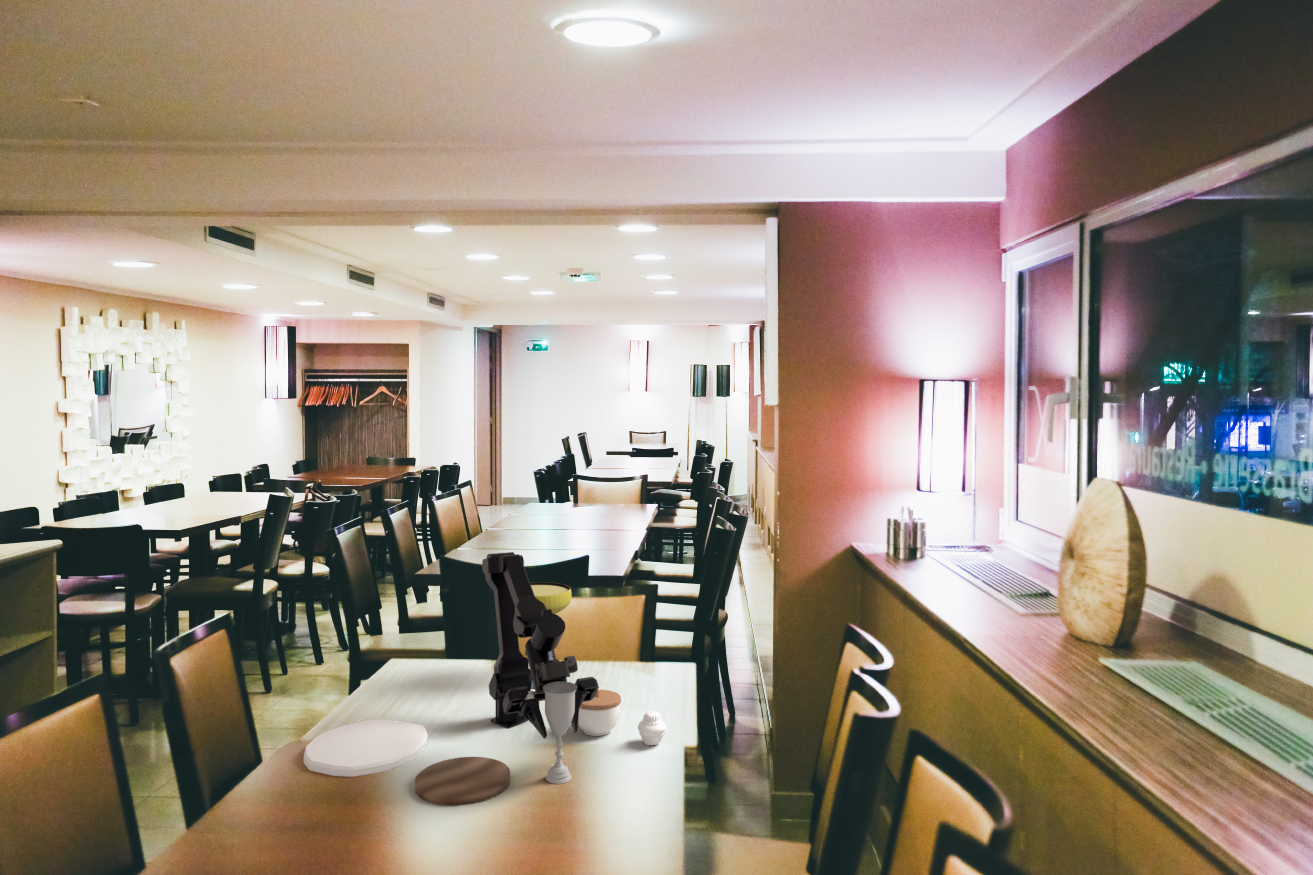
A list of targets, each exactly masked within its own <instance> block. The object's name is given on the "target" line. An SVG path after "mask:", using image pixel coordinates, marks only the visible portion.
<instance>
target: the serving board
mask: <svg viewBox="0 0 1313 875" xmlns="http://www.w3.org/2000/svg"><path fill="white" fill-rule="evenodd" d="M415 776H416V777H415V779H414V792H415V794H416V795H417V796H418V798H419V799H421V800H423V801H425V802H428V803H430V804H434V805H439V806H440V805H441V806H464V805H470V804H471V805H472V804H477V802H478V803H481V802H484V801H487V799H488V800H490V799H493V798H494V797H497V796H499V795H500V794H502V793H503V792H504V791H505V790H507V789H508V787H509V785H510V784H511V769H510V767H509V766H508V765H507V764H506V763H504V762H502V761H501V760H498V759H495V758H491V757H485V756H460V757H454V758H448V759H445V760H441V761H438V762H436V763H433V764H431V765H429V766H427V767H424V768H423V769H422V770H421V771H419V773H417V775H415ZM496 795H497V796H496ZM492 797H493V798H492Z"/></svg>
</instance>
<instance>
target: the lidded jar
mask: <svg viewBox="0 0 1313 875" xmlns="http://www.w3.org/2000/svg"><path fill="white" fill-rule="evenodd" d="M621 703H622V696H621V695H620V694H619V693H618V692H616V691H613V690H608V689H600V688H598V690H597V692H596V694H595V696H594V697H593V699H592V700H590V701H587V702H582V704H581V706H580V708H579V717H578V728H580V729H581V730H582V731H583V733H584V734H585V735H587V736H590V737H591V736H592V737H602V736H605V735H609V734H610V733H611V730H613V729H614V727H616V725H617V723H618V721H619V719H620V715H621Z"/></svg>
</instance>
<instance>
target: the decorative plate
mask: <svg viewBox="0 0 1313 875" xmlns="http://www.w3.org/2000/svg"><path fill="white" fill-rule="evenodd" d="M428 737H429V734H428V732H427V729H426V728H425V726H424V725H422V724H417V723H411V722H407V721H406V722H404V721H399V720H393V719H392V720H391V719H386V718H385V719H384V718H382V719H366V720H362V721H356V722H351V723H349V724H343V725H340V726H338V727H334V728H331V729H330V730H326V731H324V732H322V733H319V734H318V736H316V737H314V739H313V740H312V741H310V742H309V743H308V744H306V746H305V749H304V753H303V764H304V766H306V768H307V769H308V770H309V771H310V772H316V773H320V774H324V775H327V776H328V775H329V776H334V777H347V778H349V777H351V778H355V777H360V776H367V775H373V774H376V773H380V772H382V773H383V772H385V771H390V770H393V769H395V768H398V767H400V766H401V765H404V764H407V763H408V762H411V761H413V760H416V758H417V757H418V756H419V755H420V754H421V753H423V752H424V751H425V749H426V747H427V743H428V740H429V738H428Z"/></svg>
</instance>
